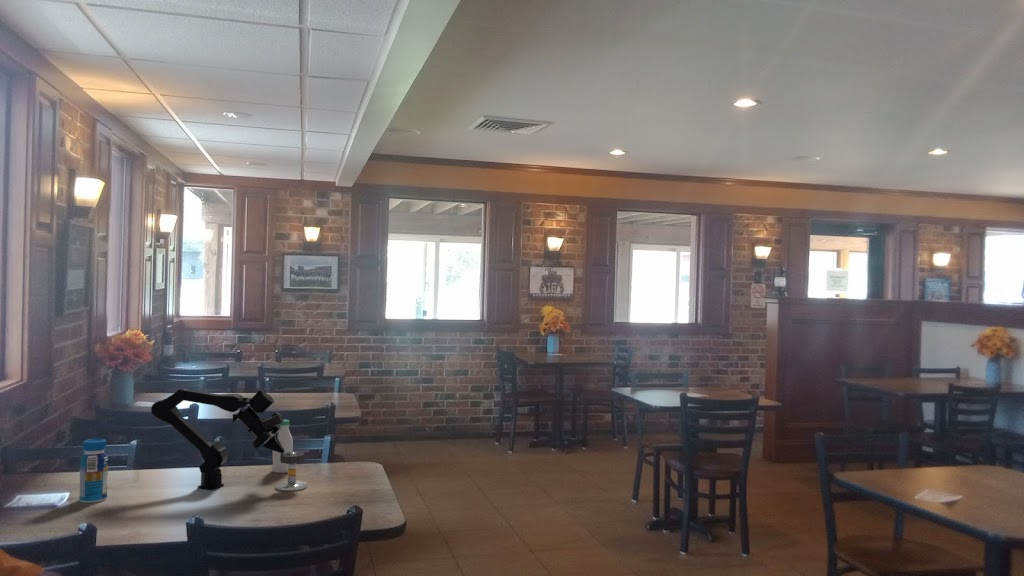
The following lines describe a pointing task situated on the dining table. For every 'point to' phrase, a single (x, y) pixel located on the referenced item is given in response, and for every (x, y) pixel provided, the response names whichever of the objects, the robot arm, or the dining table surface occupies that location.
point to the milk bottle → (287, 445)
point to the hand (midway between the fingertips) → (283, 452)
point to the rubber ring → (292, 458)
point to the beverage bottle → (93, 471)
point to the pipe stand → (291, 479)
